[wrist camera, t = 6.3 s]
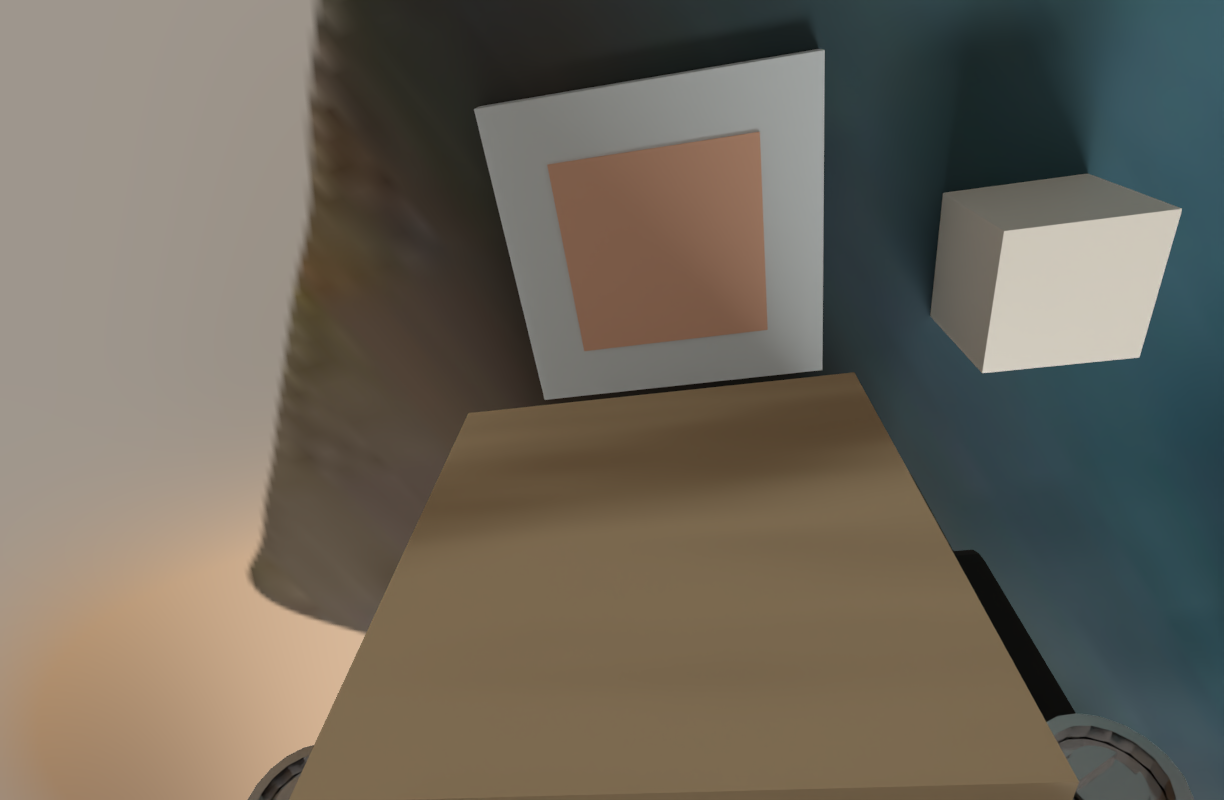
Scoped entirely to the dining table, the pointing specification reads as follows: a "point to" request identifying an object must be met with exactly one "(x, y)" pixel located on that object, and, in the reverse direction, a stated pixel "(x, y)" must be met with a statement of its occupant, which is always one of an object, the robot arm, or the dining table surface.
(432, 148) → the dining table surface
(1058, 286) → the cream block
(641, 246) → the white orange square board
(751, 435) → the oak block
